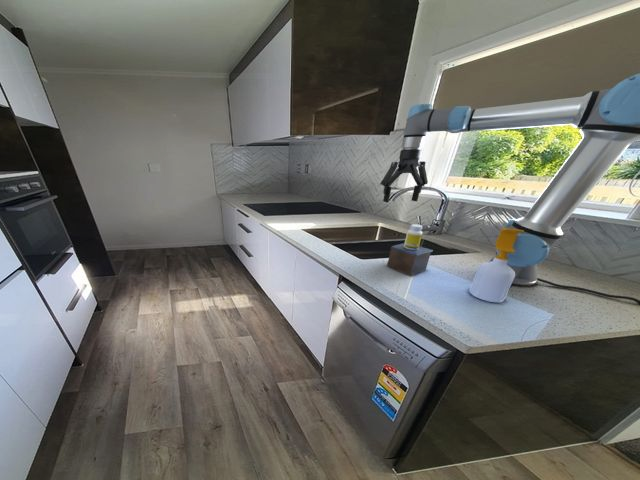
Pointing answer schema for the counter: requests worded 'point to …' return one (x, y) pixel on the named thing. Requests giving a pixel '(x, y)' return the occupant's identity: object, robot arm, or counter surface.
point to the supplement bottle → (413, 237)
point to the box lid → (413, 252)
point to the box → (407, 262)
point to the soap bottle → (496, 270)
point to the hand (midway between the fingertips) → (400, 201)
